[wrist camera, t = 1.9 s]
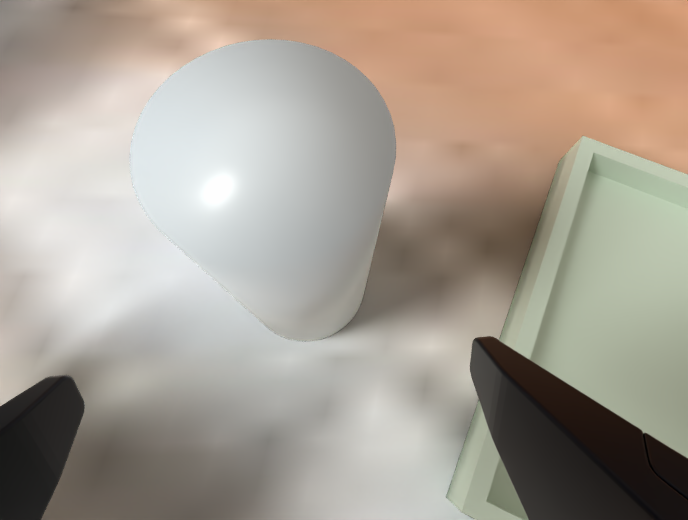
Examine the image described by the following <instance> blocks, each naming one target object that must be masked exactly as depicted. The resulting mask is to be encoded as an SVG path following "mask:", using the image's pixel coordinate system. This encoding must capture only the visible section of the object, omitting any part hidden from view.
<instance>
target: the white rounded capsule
mask: <svg viewBox="0 0 688 520" xmlns="http://www.w3.org/2000/svg"><path fill="white" fill-rule="evenodd" d="M395 159H396V138H395V130H394V125H393V122H392V118H391V115H390V112H389V110H388V108H387V106H386V103H385V101H384V99H383V98H382V96H381V95H380V93H379V92H378V90H377V89H376V87H375V86H374V85H373V84H372V83H371V81H370V80H369V79H368V78H367V77H366V76H365V75H364V74H363V73H362V72H360V71H359V70H358V69H357V68H356V67H354V66H353V65H352V64H350V63H349V62H347V61H346V60H344V59H343V58H341V57H339V56H337V55H335V54H333V53H331V52H329V51H326V50H324V49H321V48H319V47H316V46H312V45H309V44H305V43H301V42H294V41H288V40H273V39H269V40H253V41H246V42H240V43H236V44H232V45H228V46H224V47H221V48H218V49H216V50H213V51H210V52H208V53H206V54H204V55H202V56H200V57H198V58H196V59H194V60H192V61H191V62H189V63H188V64H186V65H184V66H183V67H181V68H180V69H179V70H178V71H176V72H175V73H174V74H172V75H171V76H170V77H169V78H168V79H167V80H166V81H165V82H164V83H163V84H162V85H161V86H160V87H159V88H158V89H157V90H156V92H155V93H154V94H153V96H152V97H151V98H150V99H149V101H148V103H147V104H146V106H145V108H144V109H143V111H142V113H141V115H140V117H139V119H138V122H137V124H136V126H135V130H134V134H133V137H132V141H131V149H130V173H131V178H132V183H133V188H134V190H135V193H136V196H137V198H138V201H139V203H140V205H141V206H142V208H143V210H144V212H145V214H146V215H147V217H148V218H149V219H150V220H151V222H152V223H153V224H154V225H155V227H156V228H157V229H158V230H159V231H160V232H161V233H162V234H164V235H165V236H166V237H167V238H168V239H169V240H170V241H171V242H172V243H173V244H174V245H176V246H177V247H178V248H179V249H180V250H181V251H182V252H183V253H185V254H186V255H187V256H188V257H189V258H190V259H191V260H192V261H193V262H195V263H196V264H197V265H198V266H199V267H200V268H201V269H202V270H203V271H205V272H206V273H207V274H208V275H209V276H210V277H211V278H212V279H213V280H215V281H216V282H217V283H218V284H219V285H220V286H221V287H222V288H224V289H225V290H226V291H227V292H228V293H229V294H230V295H231V296H232V297H234V298H235V299H236V300H237V301H238V302H239V303H240V304H241V305H242V306H244V307H245V308H246V309H247V310H248V311H249V312H250V313H251V314H253V315H254V316H255V317H256V318H257V319H258V320H259V321H260V322H261V323H263V324H264V325H265V326H266V327H267V328H268V329H269V330H271V331H272V332H274V333H275V334H277V335H279V336H281V337H284V338H287V339H290V340H295V341H315V340H320V339H323V338H326V337H329V336H331V335H333V334H335V333H337V332H338V331H340V330H341V329H342V328H344V327H345V326H346V325H347V324H348V323H349V322H350V321H351V320H352V318H353V317H354V316H355V314H356V313H357V311H358V309H359V307H360V305H361V302H362V299H363V296H364V292H365V287H366V283H367V279H368V275H369V271H370V267H371V262H372V258H373V254H374V250H375V246H376V241H377V237H378V233H379V229H380V225H381V221H382V216H383V212H384V208H385V204H386V200H387V196H388V191H389V187H390V183H391V179H392V175H393V170H394V164H395Z"/></svg>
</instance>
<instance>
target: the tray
mask: <svg viewBox="0 0 688 520" xmlns="http://www.w3.org/2000/svg"><path fill="white" fill-rule="evenodd" d="M499 341H501V342H502V343H504V344H505V345H507V346H509V347H510V348H512V349H513V350H515V351H517V352H518V353H520V354H521V355H523V356H525V357H526V358H528V359H529V360H531V361H533V362H534V363H536V364H537V365H539V366H541V367H542V368H544V369H545V370H547V371H549V372H550V373H552V374H553V375H555V376H557V377H558V378H560V379H561V380H563V381H565V382H566V383H568V384H569V385H571V386H573V387H574V388H576V389H577V390H579V391H580V392H582V393H584V394H585V395H587V396H588V397H590V398H592V399H593V400H595V401H596V402H598V403H600V404H601V405H603V406H604V407H606V408H608V409H609V410H611V411H612V412H614V413H616V414H617V415H619V416H620V417H622V418H624V419H625V420H627V421H628V422H630V423H632V424H633V425H635V426H636V427H638V428H640V429H641V430H642V431H643V433H648V434H649V435H651V436H653V437H654V438H656V439H657V440H659V441H661V442H662V443H664V444H665V445H667V446H669V447H670V448H672V449H674V450H675V451H677V452H678V453H680V454H682V455H683V456H685V457H687V458H688V175H687V174H685V173H682V172H679V171H677V170H674V169H671V168H668V167H666V166H663V165H660V164H658V163H655V162H652V161H650V160H647V159H644V158H641V157H639V156H636V155H633V154H631V153H628V152H625V151H623V150H620V149H617V148H614V147H612V146H609V145H606V144H604V143H601V142H598V141H596V140H593V139H590V138H587V137H585V136H582V137H581V138H580V139H579V140H578V142H577V143H576V144H575V145H574V146H573V147H572V148H571V149H570V150H569V151H568V152H567V153H566V154H565V155H564V156H563V157H562V158H561V160H560V161H559V164H558V167H557V169H556V172H555V175H554V178H553V181H552V184H551V187H550V190H549V193H548V196H547V199H546V202H545V205H544V208H543V211H542V214H541V217H540V220H539V223H538V226H537V229H536V232H535V235H534V238H533V241H532V244H531V247H530V250H529V253H528V256H527V259H526V261H525V264H524V267H523V270H522V273H521V276H520V279H519V282H518V285H517V288H516V291H515V294H514V297H513V300H512V303H511V306H510V309H509V312H508V315H507V318H506V321H505V324H504V327H503V330H502V333H501V336H500V339H499ZM446 498H447V499H448V500H449V501H450V502H451V503H452V504H453V505H455V506H456V507H457V508H458V509H459V510H460V511H461V512H462V513H464V514H466V515H468V516H470V517H472V518H474V519H476V520H529V519H528V517H527V515H526V512H525V510H524V508H523V506H522V504H521V501H520V499H519V497H518V495H517V493H516V490H515V488H514V486H513V484H512V482H511V479H510V477H509V475H508V473H507V471H506V468H505V466H504V464H503V462H502V460H501V457H500V455H499V453H498V451H497V449H496V446H495V444H494V442H493V439H492V437H491V434H490V431H489V428H488V425H487V422H486V419H485V416H484V413H483V410H482V407H481V404H480V401H478V404H477V407H476V410H475V413H474V416H473V419H472V422H471V425H470V428H469V431H468V434H467V437H466V440H465V443H464V445H463V448H462V451H461V454H460V457H459V460H458V463H457V466H456V469H455V472H454V475H453V478H452V481H451V484H450V487H449V490H448V493H447V496H446Z"/></svg>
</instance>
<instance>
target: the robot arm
mask: <svg viewBox="0 0 688 520" xmlns="http://www.w3.org/2000/svg"><path fill="white" fill-rule="evenodd" d="M470 372H471V376H472V379H473V383H474V386H475V389H476V392H477V395H478V398H479V401H480V404H481V407H482V410H483V413H484V416H485V419H486V422H487V425H488V428H489V431H490V434H491V437H492V439H493V442H494V444H495V446H496V449H497V451H498V453H499V455H500V457H501V460H502V462H503V464H504V466H505V468H506V471H507V473H508V475H509V477H510V479H511V482H512V484H513V486H514V488H515V490H516V493H517V495H518V497H519V499H520V501H521V504H522V506H523V508H524V510H525V512H526V515H527V517H528V519H529V520H688V458H687V457H685V456H683V455H682V454H680V453H678V452H677V451H675V450H674V449H672V448H670V447H669V446H667V445H665V444H664V443H662V442H661V441H659V440H657V439H656V438H654V437H653V436H651V435H649V434H648V433H643V431H642V430H641V429H640V428H638V427H636V426H635V425H633V424H632V423H630V422H628V421H627V420H625V419H624V418H622V417H620V416H619V415H617V414H616V413H614V412H612V411H611V410H609V409H608V408H606V407H604V406H603V405H601V404H600V403H598V402H596V401H595V400H593V399H592V398H590V397H588V396H587V395H585V394H584V393H582V392H580V391H579V390H577V389H576V388H574V387H573V386H571V385H569V384H568V383H566V382H565V381H563V380H561V379H560V378H558V377H557V376H555V375H553V374H552V373H550V372H549V371H547V370H545V369H544V368H542V367H541V366H539V365H537V364H536V363H534V362H533V361H531V360H529V359H528V358H526V357H525V356H523V355H521V354H520V353H518V352H517V351H515V350H513V349H512V348H510V347H509V346H507V345H505V344H504V343H502V342H501V341H499V340H498V339H496V338H494V337H491V336H488V337H477V338H475V339H474V340H473V344H472V352H471V361H470ZM83 413H84V401H83V399H82V396H81V394H80V392H79V390H78V388H77V386H76V384H75V382H74V380H73V378H72V377H70V376H69V375H59V376H50V377H47V378H45V379H43V380H42V381H40V382H39V383H37V384H35V385H34V386H32V387H31V388H29V389H27V390H26V391H24V392H23V393H21V394H19V395H18V396H16V397H14V398H13V399H11V400H10V401H8V402H6V403H5V404H3V405H2V406H0V520H41V518H42V516H43V514H44V512H45V510H46V507H47V505H48V503H49V501H50V499H51V497H52V495H53V493H54V490H55V488H56V486H57V484H58V481H59V479H60V476H61V474H62V471H63V469H64V466H65V463H66V461H67V458H68V455H69V452H70V449H71V447H72V444H73V441H74V438H75V436H76V433H77V430H78V427H79V425H80V422H81V419H82V416H83Z"/></svg>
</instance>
